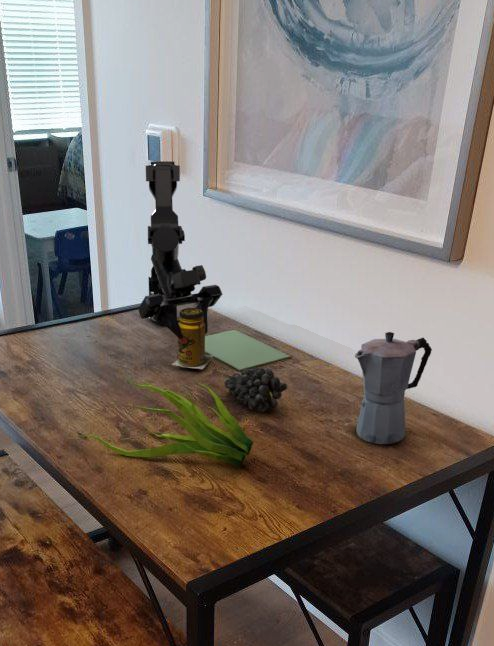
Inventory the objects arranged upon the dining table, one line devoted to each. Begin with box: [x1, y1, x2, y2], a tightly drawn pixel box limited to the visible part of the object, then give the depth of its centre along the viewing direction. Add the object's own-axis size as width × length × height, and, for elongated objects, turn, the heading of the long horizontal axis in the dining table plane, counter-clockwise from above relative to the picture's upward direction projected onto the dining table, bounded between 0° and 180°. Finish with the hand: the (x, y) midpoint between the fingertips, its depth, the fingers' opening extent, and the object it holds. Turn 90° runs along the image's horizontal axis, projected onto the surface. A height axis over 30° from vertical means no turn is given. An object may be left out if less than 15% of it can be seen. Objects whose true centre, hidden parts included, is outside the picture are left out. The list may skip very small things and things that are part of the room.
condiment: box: [171, 307, 214, 370], centre depth 157 cm, size 7×8×12 cm
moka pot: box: [354, 331, 433, 445], centre depth 127 cm, size 10×15×20 cm, turn 113°
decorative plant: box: [65, 365, 254, 468], centre depth 121 cm, size 18×30×15 cm, turn 51°
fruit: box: [224, 366, 288, 413], centre depth 142 cm, size 9×8×15 cm
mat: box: [205, 329, 291, 372], centre depth 169 cm, size 22×15×1 cm
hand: (193, 335), depth 155 cm, fingers closed on condiment, 6 cm apart
